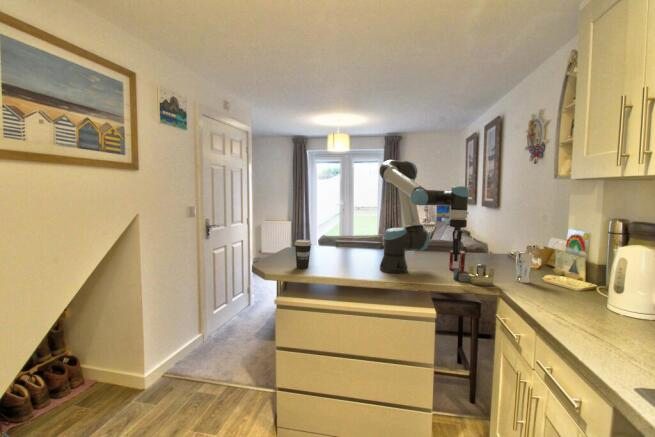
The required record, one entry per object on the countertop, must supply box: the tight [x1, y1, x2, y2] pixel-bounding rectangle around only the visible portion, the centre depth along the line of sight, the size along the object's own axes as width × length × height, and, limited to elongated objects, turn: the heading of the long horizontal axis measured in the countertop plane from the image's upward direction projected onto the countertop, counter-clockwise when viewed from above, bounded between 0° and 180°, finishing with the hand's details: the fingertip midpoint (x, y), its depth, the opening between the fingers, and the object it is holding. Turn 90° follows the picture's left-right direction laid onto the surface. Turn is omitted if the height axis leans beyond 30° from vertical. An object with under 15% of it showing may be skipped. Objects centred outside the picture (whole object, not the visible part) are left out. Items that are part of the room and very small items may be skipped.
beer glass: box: [515, 250, 533, 284], centre depth 164 cm, size 7×7×15 cm
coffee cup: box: [294, 239, 312, 270], centre depth 180 cm, size 10×10×15 cm
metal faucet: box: [452, 252, 495, 287], centre depth 160 cm, size 18×11×14 cm, turn 61°
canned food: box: [448, 249, 466, 272], centre depth 185 cm, size 8×8×11 cm
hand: (455, 267), depth 157 cm, fingers closed
